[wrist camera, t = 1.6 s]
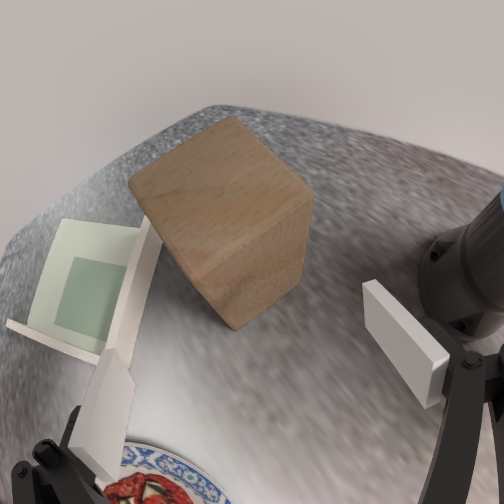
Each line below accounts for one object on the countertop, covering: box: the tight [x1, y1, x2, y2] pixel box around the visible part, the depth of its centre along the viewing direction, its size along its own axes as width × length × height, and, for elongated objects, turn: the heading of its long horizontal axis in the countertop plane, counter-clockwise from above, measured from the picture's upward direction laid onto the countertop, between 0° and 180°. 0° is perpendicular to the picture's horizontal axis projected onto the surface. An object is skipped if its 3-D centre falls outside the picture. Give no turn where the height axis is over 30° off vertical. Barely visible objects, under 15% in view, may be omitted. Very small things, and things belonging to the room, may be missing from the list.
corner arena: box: [6, 215, 163, 372], centre depth 39 cm, size 19×19×5 cm
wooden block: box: [128, 116, 314, 331], centre depth 31 cm, size 10×10×20 cm
